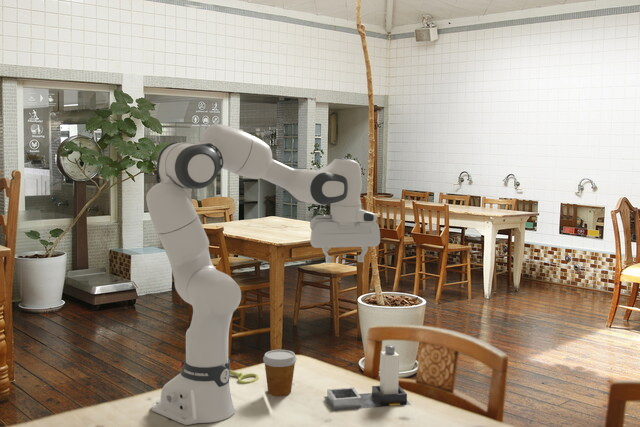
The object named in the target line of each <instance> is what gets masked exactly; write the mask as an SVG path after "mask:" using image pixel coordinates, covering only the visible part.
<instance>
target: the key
mask: <svg viewBox="0 0 640 427" xmlns="http://www.w3.org/2000/svg"><path fill="white" fill-rule="evenodd" d="M230 375H232V376H235V377H237V382H238V384H240V385H245V384H246V385H248V384H252V383H254V382H257V381H258V380H259V375H258V374H256V373H253V372H252V373H251V372H250V373H249V372H248V373H245V374H244V373H242V372H237V371H234V370H232V369H230ZM253 377H254V378H253ZM247 378H253V379H251V380H244V379H247Z"/></svg>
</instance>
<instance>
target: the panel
mask: <svg viewBox="0 0 640 427" xmlns="http://www.w3.org/2000/svg"><path fill="white" fill-rule="evenodd" d="M326 393H327V394H326V396H323V398H324V400H325V401H326V402H327V404H328V406H329V408H330V409H331V410H332V411H331V412H335V411H346V410H359V409H373V408H386V407H399V406H409V405H411V403H410V402H409V401H408V394H407V392H406V391H405V390H404V389H403V388H402V387H401V386H400V385H399V384H398V394H387V395H382V394H381V393H380V385H372V386H371V392H370V393H369V392H367V393H366V392H365V393H359V392H358V391H357V390H356V389H355V387H344V388H343V387H342V388H341V387H340V388H329V389H327V392H326Z"/></svg>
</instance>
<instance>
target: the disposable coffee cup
mask: <svg viewBox="0 0 640 427" xmlns="http://www.w3.org/2000/svg"><path fill="white" fill-rule="evenodd" d="M297 360H298V359H297V357H296V354H295V352H294V351H292V350H288V349H273V350H269V351H267V352H265V353H264V356H263V357H262V361H263V363H264V370H265V377H266V385H267V393H268V395H270V396H273V397H286V396H289V395H290V394H292V388H293V387H292V386H293V381H294V379H293V378H294V374H295V373H294V372H295V366H296V365H295V364H296V363H297V362H296V361H297Z"/></svg>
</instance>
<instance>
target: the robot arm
mask: <svg viewBox="0 0 640 427" xmlns="http://www.w3.org/2000/svg"><path fill="white" fill-rule="evenodd" d="M222 169H223V170H225V171H227V172H230V173H233V174H234V175H238V176H240V177H243V178H247V179H254V180H259V179H260V180H264V181H265V182H269V183H270V184H273V185H275V186H277V187H279V188H281V189H283V191H284V192H285V193H286V194H287V195H288V196H289V197H290V198H291V199H292V200H293V201H295V202H298V203H308V204H312V205H319V206H327V205H330V214H321V215H320V214H319V215H315V216H313V217H311V219H310V222H309V223H310V226H309V227H310V230H311V232H310V240H309V241H310V245H311V246H312V247H313V248H316V249H322V253H323V254H324V256H325V263H327V264H332V263H333V256H331V255H330V254H328V252H329V251H330V248H360V249H361V252H360V254H358V255H357V262H358V263H364V262H365V256H366V254H367V253H368V251H369V249H368V248H369V247H372V248H373V247H378V246H379V245H380V243H381V232H380V231H381V230H380V226H379V224H378V223H377V221H378V215H377V214H376V213H373V212H371V211H369V210H366V209H362V200H361V194H362V186H363V182H362V180H363V179H362V169H361V165H360V163H359V162H358V161H356V160H354V159H351V158H344V157H337V158H336V157H335V158H334V159H333V160H332V161H331V162H330V163H329V164H327V165H326V166H324V167H322V168H318V169H319V170H318V169H311V168H306V167H296V168H294V167H290V166H288V165H286V164H284V163H282V162H279V161H277V160H275V159H274V158H273V151H272V149H271V146H270V145H268V143H266V142H265V141H263V140H262V139H260V138H259V137H257V136H255V135H253V134H252V133H251V134H250V133H248V132H246V131H244V130H241V129H238V128H235V127H234V126H233V127H232V126H228V125H225V124H224V125H223V124H221V123H219V124H218V123H216V124H215V123H214V124H212V125H209V126H208V127H207V128H206V129H205V130H204V132H203V133H202V135H201V137H200V140H199V141H198V142H196V143H192V142H176V141H175V142H172V143H169V144H167V145H166V146H164V147H163V148H162V149H161V150H160V151H159V153H158V156H157V159H156V181H157V183H156V184H154V185H153V186H152V187H151V188H150V189H149V190H148V191H147V193H146V197H145V199H146V205H147V209H148V213H149V216H150V219H151V222H152V224H153V227H154V229H155V232H156V234H157V236H158V238H159V241H160V242H161V245H162V247H163V250H164V251H165V254H166V256H167V259H168V262H169V265H170V268H171V272H172V276H173V279H174V288H175V291H176V292H177V295H179V297H180V298H181V299H182V300H183V301H184V302H186V303H187V304H189V305H190V306H192V316H191V321H190V326H189V328H187V330H186V331H185V332H186V333H185V359H184V360H182V361H180V362H179V363H177V365H178V366H177V368H178V369H179V368H181V367H182V368H181V370H180V373H178V374H177V375H176V376H174V377H173V378H172V379H170V380H169V381H168V382H166V383H165V384H164V385H163V387H162V389H161V393H160V398H159V399H157V400H156V401H155V402H154V403H153V404H152V405H151V411H152V412H154V413H156V414H159V415H161V416H163V417H166V418H168V419H169V420H170V419H171V420H173V421H174V422H178V423H179V424H182V425H184V426H185V425H186V426H188V425H195V424H205V423H206V424H207V423H216V422H220V421H223V420H226V419H228V418H230V417H231V416H233V415H234V414H235V412H236V411H235V407H234V404H233V399H232V394H231V386H230V376H231V374H230V370H231V361H230V358H229V334H230V333H229V332H230V328H231V322H232V317H233V315H234V312H235V311H236V310H237V308H239V305H240V303H241V300H242V290H241V288H240V285H238V283H237V282H236V281H235V279H233V278H232V276H230V275H229V274H227V273H225V272H224V271H223V272H222V271H220V270H219V269H216V267H215V266H214V264H213V262H212V259H211V254H210V249H209V246H210V240H209V237H208V236H207V233H206V230H205V229H204V225H203V224H202V221H201V219H200V217H199V215H198V213H197V210H196V208H195V206H194V204H193V200H192V191H193V190H200V189H204V188H206V187H208V186H210V185H211V184H212V183H213V182H214V181H215V180H216V179H217V178H216V177H217V176H218V174H219V172H220V171H221V170H222Z"/></svg>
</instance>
